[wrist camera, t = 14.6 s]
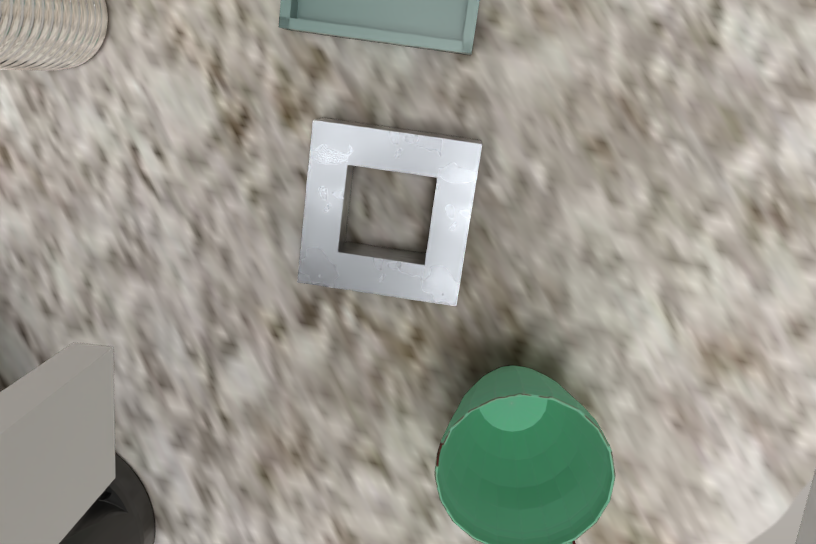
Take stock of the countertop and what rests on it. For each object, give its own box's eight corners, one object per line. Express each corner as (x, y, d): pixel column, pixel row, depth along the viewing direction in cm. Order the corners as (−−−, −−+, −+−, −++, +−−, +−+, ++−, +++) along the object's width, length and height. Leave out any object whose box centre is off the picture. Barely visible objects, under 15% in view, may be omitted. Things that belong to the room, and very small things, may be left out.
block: (307, 269, 48) (297, 282, 45) (322, 117, 45) (312, 120, 42) (456, 292, 47) (456, 306, 44) (481, 140, 44) (482, 144, 42)
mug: (419, 355, 49) (409, 424, 39) (560, 311, 47) (585, 370, 37) (489, 536, 52) (495, 640, 42) (623, 499, 50) (661, 599, 41)
